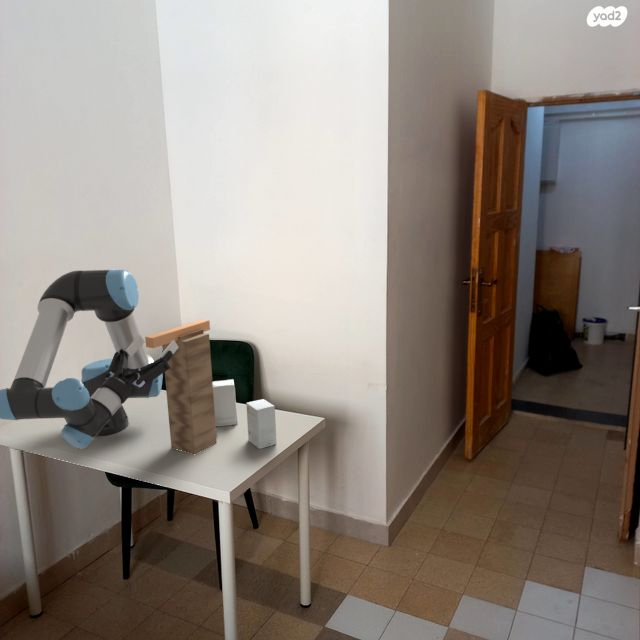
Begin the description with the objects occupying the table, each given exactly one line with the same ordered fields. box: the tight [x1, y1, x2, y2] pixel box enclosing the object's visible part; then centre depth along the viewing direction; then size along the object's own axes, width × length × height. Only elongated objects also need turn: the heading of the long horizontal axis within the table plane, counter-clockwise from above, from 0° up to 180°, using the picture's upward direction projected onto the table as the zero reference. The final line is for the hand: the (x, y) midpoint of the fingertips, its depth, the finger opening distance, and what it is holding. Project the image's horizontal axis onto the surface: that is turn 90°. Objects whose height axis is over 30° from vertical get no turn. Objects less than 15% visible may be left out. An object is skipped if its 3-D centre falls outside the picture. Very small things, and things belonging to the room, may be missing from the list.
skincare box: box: [212, 378, 239, 427], centre depth 206 cm, size 8×6×15 cm
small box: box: [246, 398, 277, 449], centre depth 189 cm, size 8×6×13 cm
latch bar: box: [144, 319, 211, 349], centre depth 179 cm, size 3×24×3 cm, turn 149°
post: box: [161, 329, 218, 455], centre depth 186 cm, size 10×10×37 cm
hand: (158, 340), depth 172 cm, fingers open, 13 cm apart
